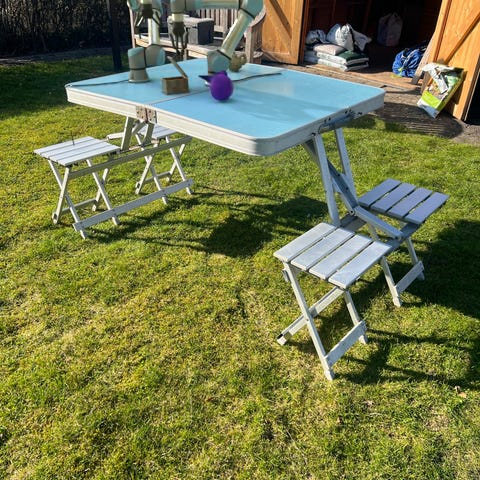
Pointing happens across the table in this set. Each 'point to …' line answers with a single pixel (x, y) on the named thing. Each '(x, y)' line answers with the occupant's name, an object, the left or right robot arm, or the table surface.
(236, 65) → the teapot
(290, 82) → the table surface
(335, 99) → the table surface
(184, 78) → the chest
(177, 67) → the lid
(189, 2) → the right robot arm
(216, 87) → the toy
